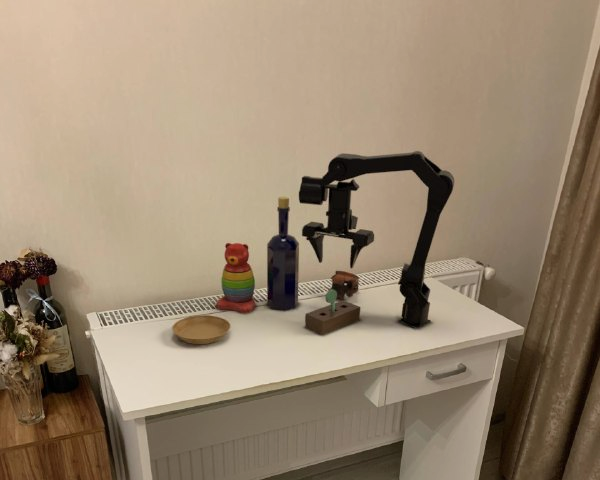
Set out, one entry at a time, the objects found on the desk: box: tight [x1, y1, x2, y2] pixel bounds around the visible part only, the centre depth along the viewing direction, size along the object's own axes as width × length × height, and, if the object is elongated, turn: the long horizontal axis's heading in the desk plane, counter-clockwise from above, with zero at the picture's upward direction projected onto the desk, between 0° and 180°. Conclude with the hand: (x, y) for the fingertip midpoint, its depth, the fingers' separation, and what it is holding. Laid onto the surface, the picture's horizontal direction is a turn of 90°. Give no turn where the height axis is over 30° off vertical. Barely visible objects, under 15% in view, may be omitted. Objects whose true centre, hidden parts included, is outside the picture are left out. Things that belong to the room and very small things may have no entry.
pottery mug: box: [327, 270, 360, 301], centre depth 182 cm, size 12×9×8 cm
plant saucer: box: [171, 314, 232, 345], centre depth 157 cm, size 15×15×3 cm
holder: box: [304, 299, 361, 336], centre depth 165 cm, size 6×15×4 cm, turn 134°
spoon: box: [325, 288, 338, 312], centre depth 163 cm, size 1×4×10 cm, turn 134°
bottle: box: [266, 196, 300, 311], centre depth 169 cm, size 9×9×30 cm
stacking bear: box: [215, 242, 256, 314], centre depth 171 cm, size 11×10×18 cm
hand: (336, 265), depth 166 cm, fingers open, 9 cm apart
